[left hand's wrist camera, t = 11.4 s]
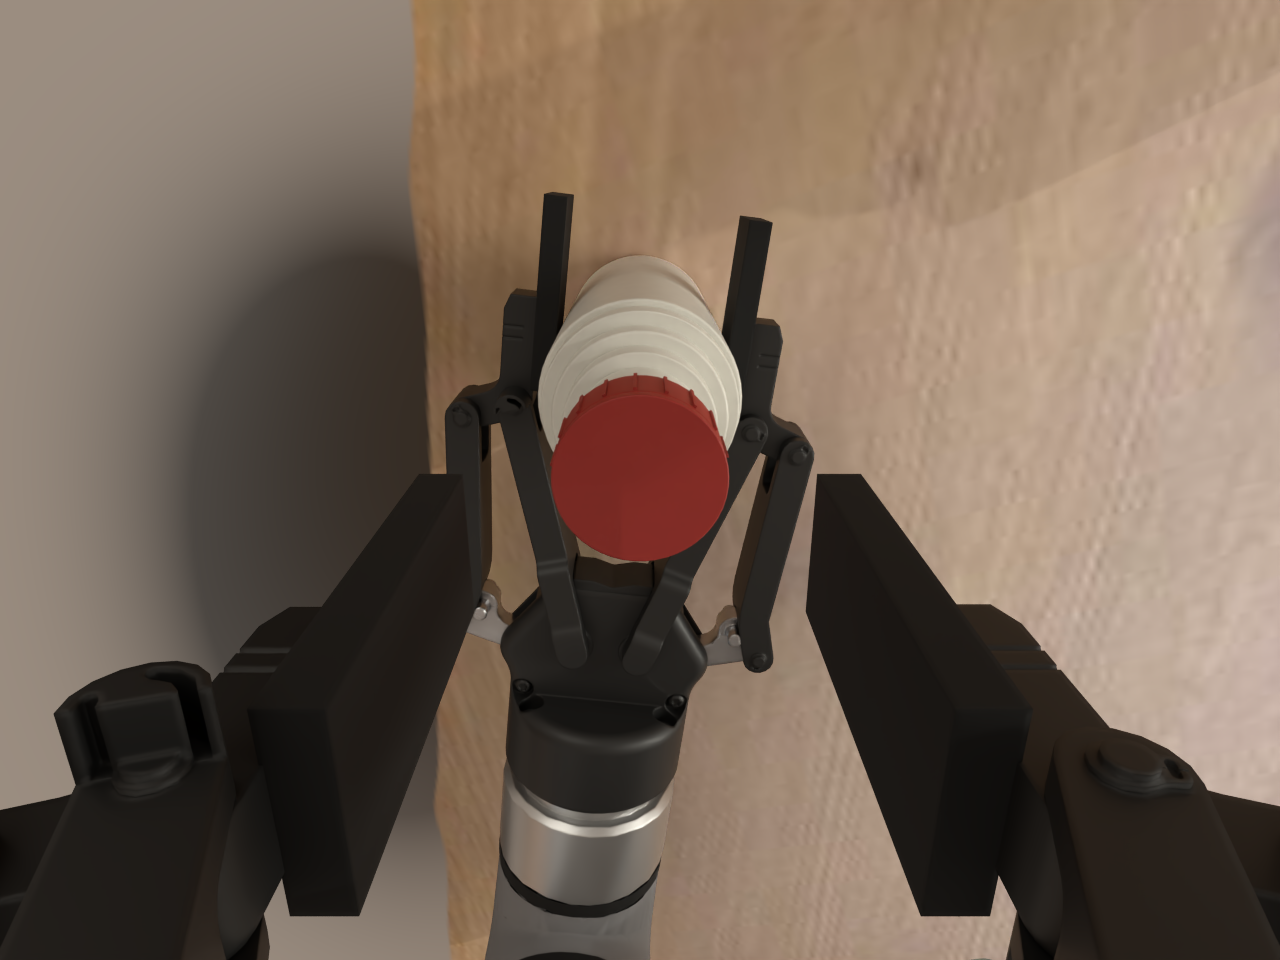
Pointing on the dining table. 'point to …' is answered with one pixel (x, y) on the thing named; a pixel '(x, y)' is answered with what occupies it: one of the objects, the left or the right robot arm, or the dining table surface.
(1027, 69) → the dining table surface
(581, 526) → the cap
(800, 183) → the dining table surface
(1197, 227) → the dining table surface
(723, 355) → the bottle
